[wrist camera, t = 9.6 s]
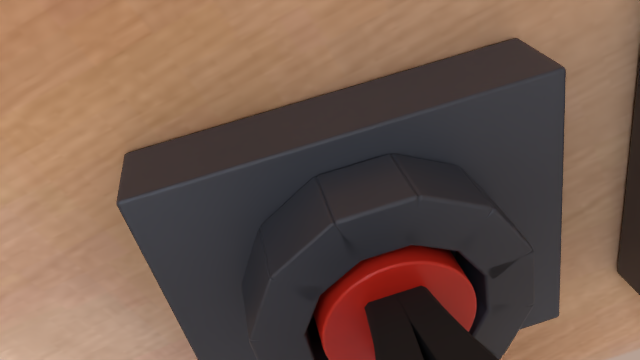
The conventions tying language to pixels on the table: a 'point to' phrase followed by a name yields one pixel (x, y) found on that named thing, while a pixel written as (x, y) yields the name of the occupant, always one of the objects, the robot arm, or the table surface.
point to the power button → (384, 280)
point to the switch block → (359, 201)
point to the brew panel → (632, 207)
